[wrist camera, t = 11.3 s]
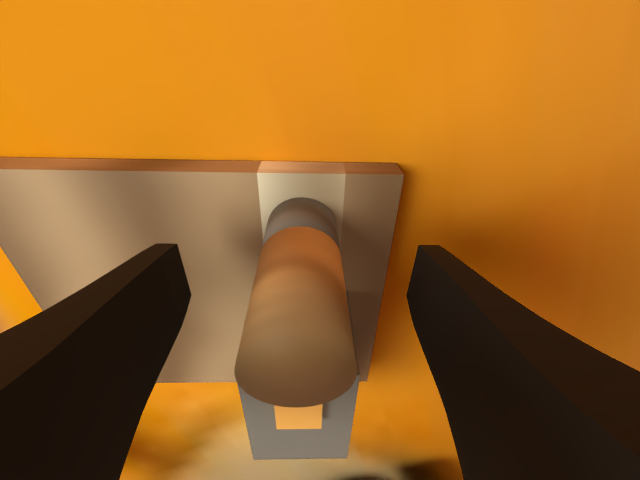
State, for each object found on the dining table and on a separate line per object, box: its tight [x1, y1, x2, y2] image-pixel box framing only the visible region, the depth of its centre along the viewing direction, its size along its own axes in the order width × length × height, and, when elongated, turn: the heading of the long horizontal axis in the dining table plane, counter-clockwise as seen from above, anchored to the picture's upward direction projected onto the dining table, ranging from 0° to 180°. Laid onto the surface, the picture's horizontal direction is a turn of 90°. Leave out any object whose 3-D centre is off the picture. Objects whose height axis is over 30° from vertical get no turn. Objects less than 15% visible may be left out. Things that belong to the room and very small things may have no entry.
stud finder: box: [238, 291, 360, 460], centre depth 13 cm, size 4×6×4 cm, turn 179°
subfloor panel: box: [0, 157, 404, 383], centre depth 14 cm, size 15×12×1 cm
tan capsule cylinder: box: [234, 197, 357, 408], centre depth 9 cm, size 3×3×6 cm
